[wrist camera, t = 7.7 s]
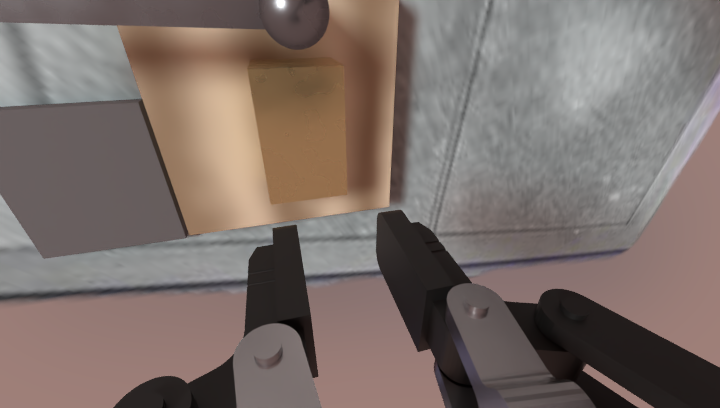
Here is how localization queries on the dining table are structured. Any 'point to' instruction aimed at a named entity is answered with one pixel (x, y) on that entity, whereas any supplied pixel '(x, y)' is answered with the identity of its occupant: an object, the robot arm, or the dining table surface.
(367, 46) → the base plate
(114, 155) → the mat
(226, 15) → the clamp lever
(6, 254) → the dining table surface
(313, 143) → the brown rectangular block
